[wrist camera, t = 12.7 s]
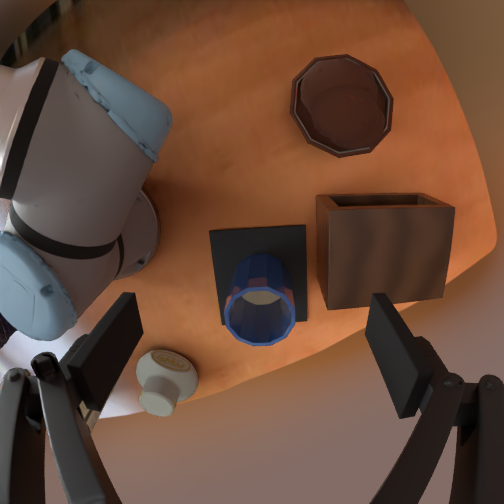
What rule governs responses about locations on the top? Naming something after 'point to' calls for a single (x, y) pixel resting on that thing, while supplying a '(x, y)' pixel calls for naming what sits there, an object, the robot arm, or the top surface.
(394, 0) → the top surface
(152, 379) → the air freshener
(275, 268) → the cup
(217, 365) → the top surface
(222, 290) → the mat
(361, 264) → the shelf
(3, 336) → the storage jar
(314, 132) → the ice cream bowl
